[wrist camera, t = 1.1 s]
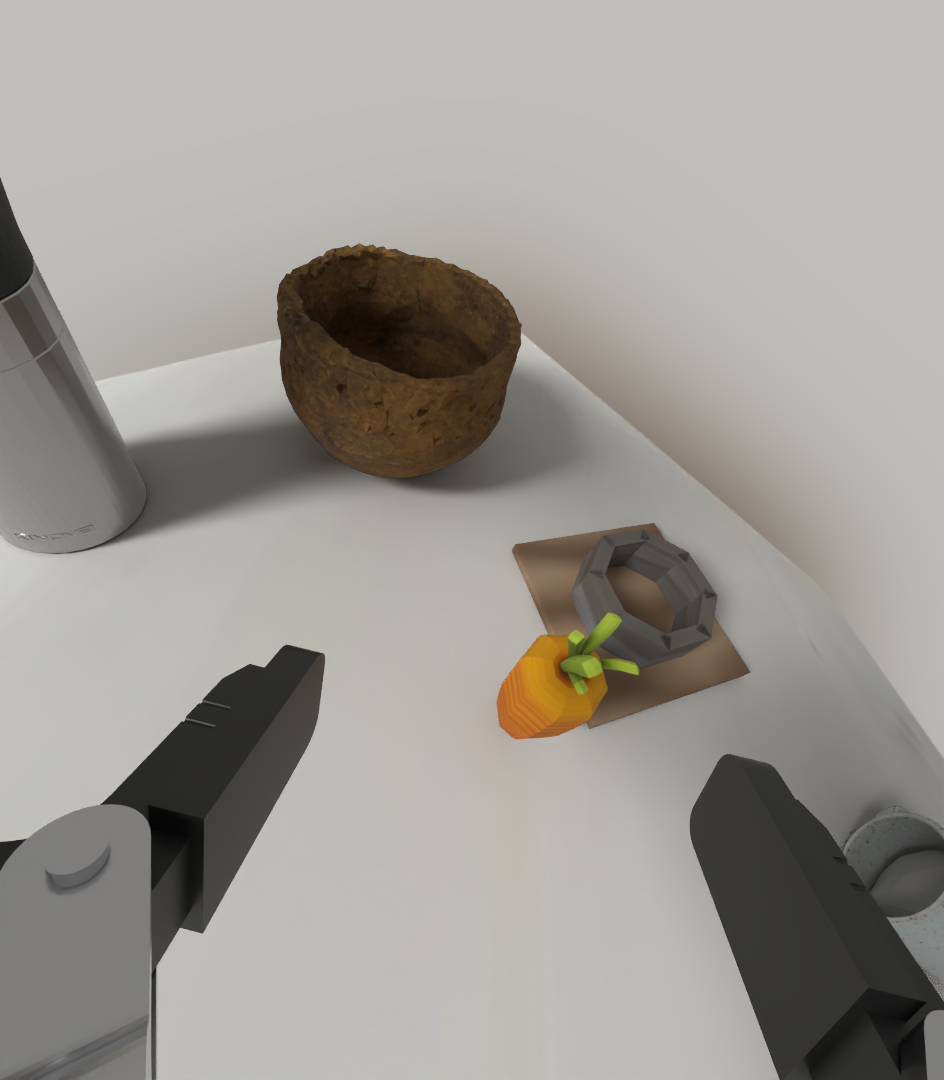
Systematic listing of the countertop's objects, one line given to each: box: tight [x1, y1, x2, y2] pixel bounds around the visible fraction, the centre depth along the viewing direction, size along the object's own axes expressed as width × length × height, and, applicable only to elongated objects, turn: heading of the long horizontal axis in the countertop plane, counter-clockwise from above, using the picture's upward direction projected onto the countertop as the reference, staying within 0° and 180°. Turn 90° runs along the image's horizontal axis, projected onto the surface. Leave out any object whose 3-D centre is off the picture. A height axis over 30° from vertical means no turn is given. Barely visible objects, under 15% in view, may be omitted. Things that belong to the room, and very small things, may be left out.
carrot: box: [497, 613, 639, 739], centre depth 27 cm, size 5×5×15 cm
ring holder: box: [512, 523, 750, 728], centre depth 39 cm, size 16×16×5 cm
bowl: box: [277, 244, 522, 478], centre depth 40 cm, size 19×19×15 cm
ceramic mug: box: [842, 806, 944, 986], centre depth 30 cm, size 11×8×8 cm
